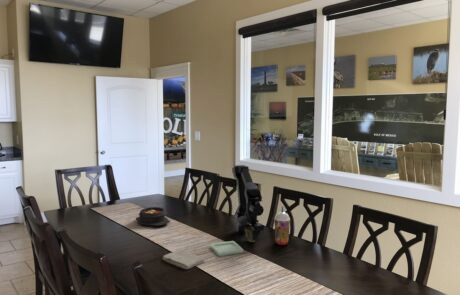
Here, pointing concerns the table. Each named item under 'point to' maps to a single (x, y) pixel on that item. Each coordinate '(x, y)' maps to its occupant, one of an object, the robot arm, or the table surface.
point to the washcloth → (183, 259)
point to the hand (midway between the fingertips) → (251, 238)
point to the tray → (226, 248)
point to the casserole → (152, 216)
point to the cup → (249, 234)
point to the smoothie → (282, 228)
